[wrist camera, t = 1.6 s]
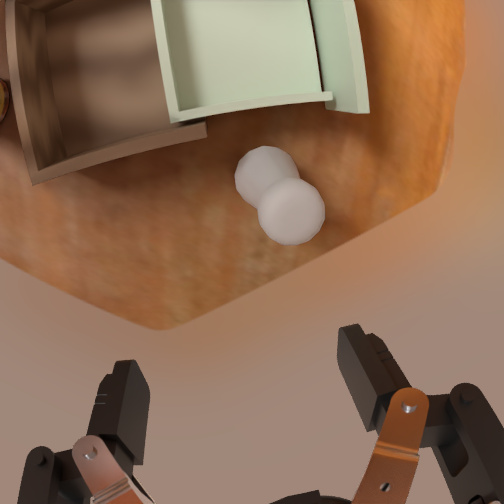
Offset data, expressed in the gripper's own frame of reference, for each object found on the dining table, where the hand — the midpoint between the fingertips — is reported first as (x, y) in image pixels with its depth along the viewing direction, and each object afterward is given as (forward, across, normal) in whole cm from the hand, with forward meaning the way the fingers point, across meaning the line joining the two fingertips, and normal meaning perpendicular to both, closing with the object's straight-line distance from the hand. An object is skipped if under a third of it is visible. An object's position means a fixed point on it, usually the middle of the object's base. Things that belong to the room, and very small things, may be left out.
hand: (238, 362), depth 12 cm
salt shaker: (+22, -4, -2) cm, 23 cm away
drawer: (+21, -4, -16) cm, 27 cm away
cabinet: (+22, +8, -16) cm, 28 cm away
